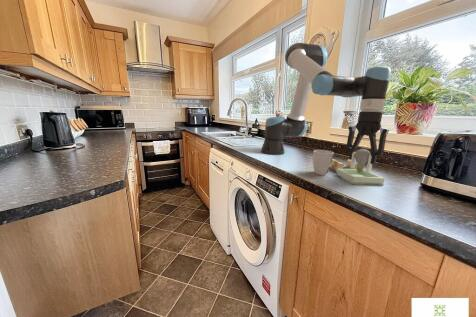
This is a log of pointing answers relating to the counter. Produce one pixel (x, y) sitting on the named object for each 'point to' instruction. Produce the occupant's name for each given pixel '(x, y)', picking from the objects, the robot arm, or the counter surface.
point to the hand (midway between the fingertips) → (360, 169)
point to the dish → (360, 177)
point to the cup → (322, 161)
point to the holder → (341, 165)
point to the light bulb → (361, 159)
